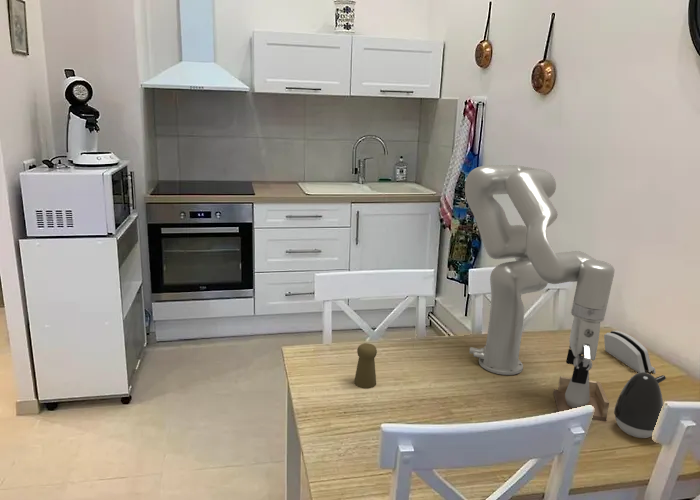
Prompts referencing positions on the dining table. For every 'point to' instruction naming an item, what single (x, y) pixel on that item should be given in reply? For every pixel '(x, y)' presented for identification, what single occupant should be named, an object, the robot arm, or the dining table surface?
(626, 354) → the white rounded block
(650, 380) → the pump dispenser
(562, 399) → the corner tray
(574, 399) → the salt shaker
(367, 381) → the brown pawn
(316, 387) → the dining table surface
